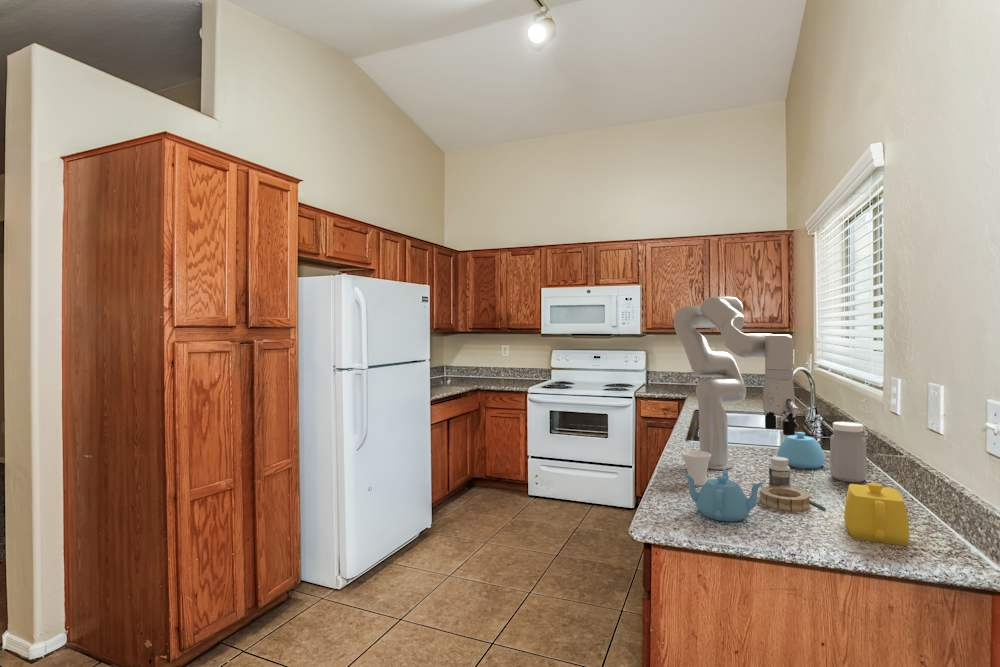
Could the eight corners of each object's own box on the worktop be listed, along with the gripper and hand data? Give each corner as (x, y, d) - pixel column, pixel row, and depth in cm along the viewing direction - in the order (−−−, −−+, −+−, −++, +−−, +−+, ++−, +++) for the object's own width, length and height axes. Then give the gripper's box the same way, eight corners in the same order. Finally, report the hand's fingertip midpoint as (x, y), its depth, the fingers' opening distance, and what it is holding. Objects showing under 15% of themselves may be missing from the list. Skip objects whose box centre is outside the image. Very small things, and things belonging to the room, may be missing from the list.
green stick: (795, 495, 154) (795, 493, 154) (798, 495, 154) (798, 493, 154) (823, 510, 141) (823, 508, 141) (826, 510, 141) (826, 507, 141)
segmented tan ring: (752, 496, 153) (752, 486, 153) (792, 496, 153) (792, 485, 153) (775, 511, 141) (775, 500, 141) (818, 510, 141) (818, 499, 141)
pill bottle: (771, 487, 162) (771, 455, 162) (792, 490, 159) (792, 457, 158) (767, 491, 158) (766, 458, 158) (788, 495, 154) (788, 461, 154)
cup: (696, 478, 173) (695, 448, 172) (717, 485, 164) (717, 454, 164) (675, 481, 169) (674, 450, 169) (696, 489, 160) (696, 457, 160)
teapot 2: (840, 514, 138) (840, 470, 138) (898, 522, 132) (898, 475, 132) (848, 541, 120) (848, 491, 120) (916, 552, 115) (915, 498, 114)
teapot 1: (715, 528, 130) (715, 487, 130) (680, 507, 144) (680, 471, 144) (765, 522, 133) (765, 482, 133) (725, 503, 148) (725, 467, 148)
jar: (842, 473, 176) (841, 420, 176) (873, 480, 168) (872, 424, 168) (823, 477, 172) (823, 422, 172) (854, 484, 163) (854, 427, 163)
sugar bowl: (768, 462, 192) (768, 430, 192) (795, 457, 199) (795, 427, 199) (807, 471, 179) (806, 438, 179) (834, 466, 185) (834, 434, 185)
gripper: (752, 373, 166) (752, 426, 166) (783, 377, 149) (783, 437, 149) (775, 372, 167) (775, 426, 167) (808, 377, 149) (809, 437, 149)
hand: (779, 431), depth 158 cm, fingers open, 9 cm apart
